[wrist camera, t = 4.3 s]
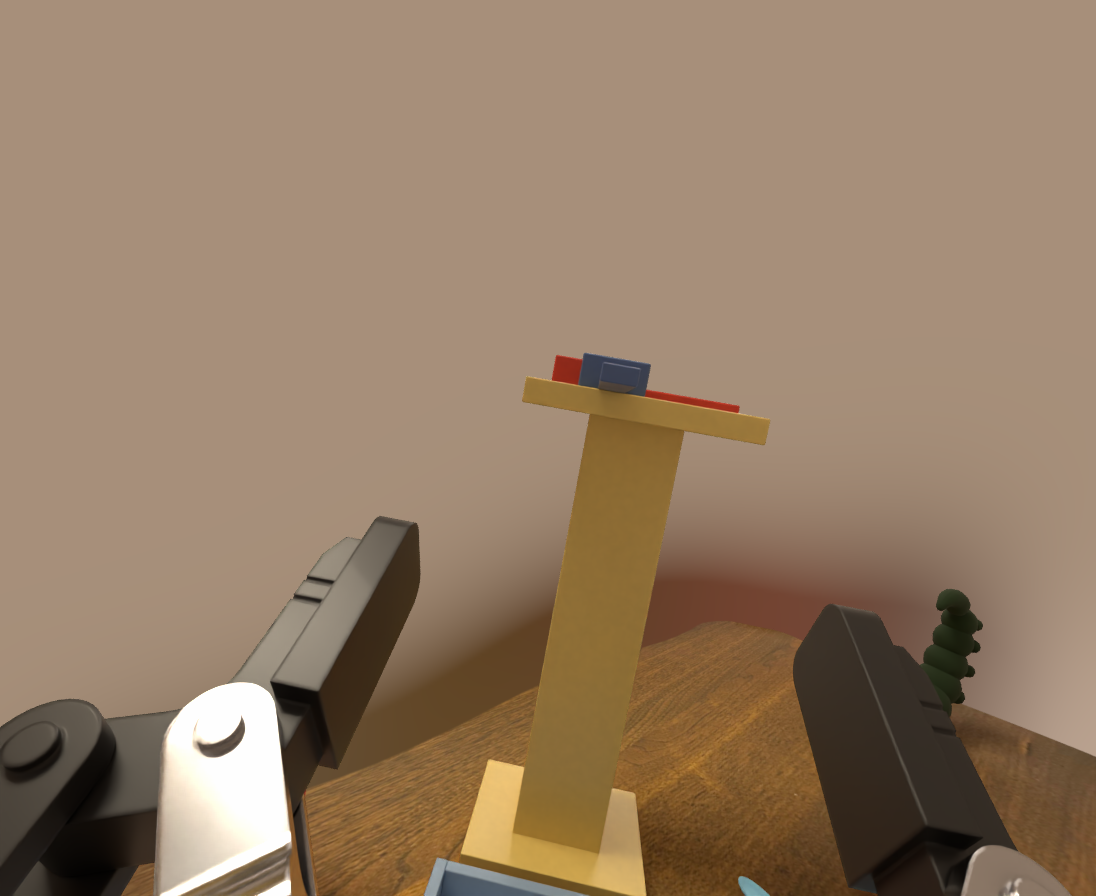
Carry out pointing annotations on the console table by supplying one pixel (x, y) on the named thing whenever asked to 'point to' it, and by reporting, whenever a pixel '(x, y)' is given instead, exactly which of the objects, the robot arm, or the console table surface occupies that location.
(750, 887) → the teapot
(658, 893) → the console table surface
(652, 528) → the stand
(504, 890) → the blue tray
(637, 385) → the blue toy mallet
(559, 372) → the red toy mallet
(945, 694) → the green caterpillar figure
